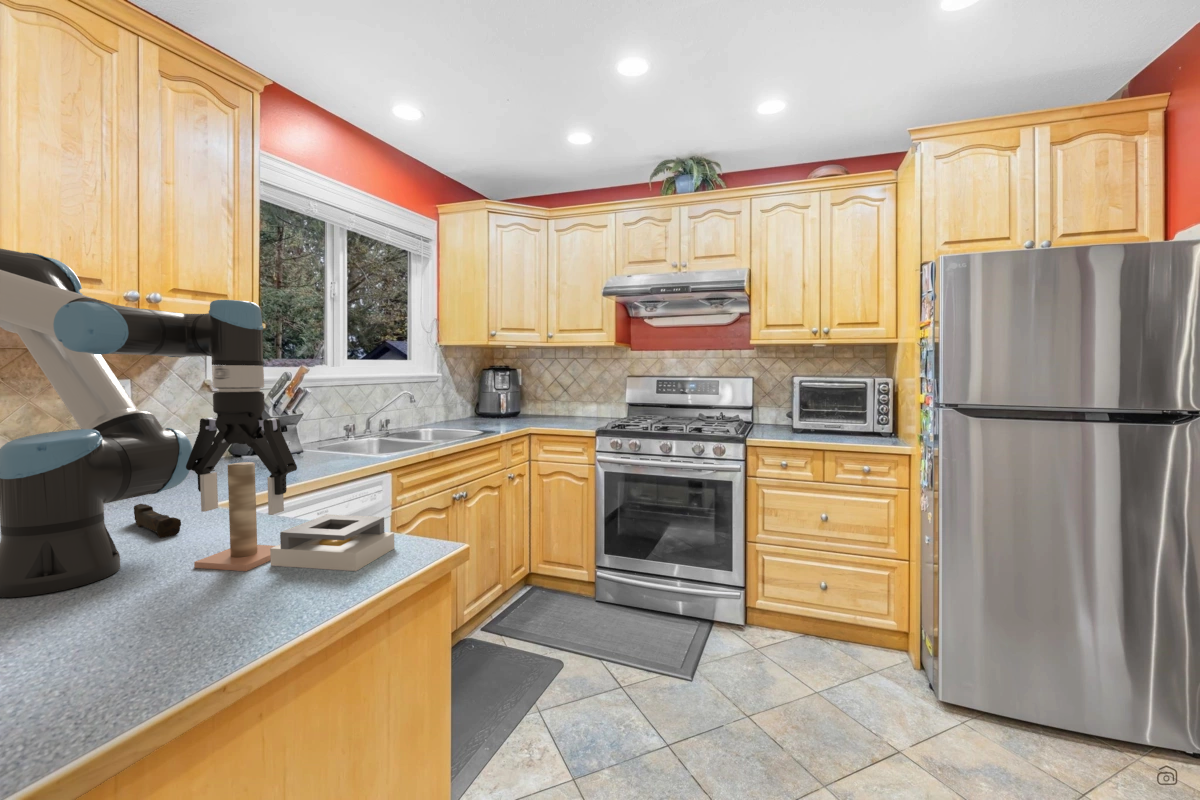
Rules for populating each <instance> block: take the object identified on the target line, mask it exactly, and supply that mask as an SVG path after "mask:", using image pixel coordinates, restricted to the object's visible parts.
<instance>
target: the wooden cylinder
mask: <svg viewBox="0 0 1200 800" xmlns="http://www.w3.org/2000/svg"><path fill="white" fill-rule="evenodd" d="M227 486H228V487H227V490H228V519H229V520H228V521H229V524H228V525H229V545H230V546H229V549H230V556H231V557H234V558H240V557H247V556H251V555H254V554H256V553H257V545H258V529H257V528H258V526H257V524H258V523H257V494H256V493H257V491H256V488H257V487H256V463H255V462H252V461H248V462H246V461H245V462H244V461H243V462H235V463H230V464H227Z"/></svg>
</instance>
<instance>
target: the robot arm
mask: <svg viewBox="0 0 1200 800" xmlns="http://www.w3.org/2000/svg"><path fill="white" fill-rule="evenodd" d="M78 277H79V276H77V274H76V273H75V272H74V270H73V269H72V268H71V267H70V266H68V265H67V264H66V263H64V262H62V261H61V260H58V259H56V258H51V257H47V256H44V255H41V254H38V253H33V252H21V251H15V250H10V249H5V248H0V328H1V329H2V330H4V331H6V332H10V333H14V334H17V335H18V336H19V339H20V341H22V343H23V344H24V345H25V347H26V348H27V351H29V353H30V355H31V356H32V358H33V359H34V361H35V363H37V365H38V367H39V368H40V369H41V372H42V373H43V375H44V376H45V377H46V379H47V381H49V383H50V385H51V386H52V387H53V389H54V390H55V393H56V394H57V395H58V396H59V398H60V399H61V401H62V403H63V404H64V406H65V407H66V409H67V410H68V412H69V413H70V414H71V416H72V417H73V419H74V421H75V422H76V424H77V425H78V426H79V429H67V430H66V429H65V430H60V431H50V432H49V431H48V432H43V433H38V434H31V435H28V436H27V435H26V436H24V437H19V438H15V439H12V440H10V441H7V442H6V443H4V445H2V446H1V447H0V598H20V597H29V596H30V597H31V596H38V595H44V594H50V593H51V594H52V593H56V592H60V591H66V590H70V589H74V588H77V587H81V586H85V585H88V584H89V585H90V584H91V583H95V582H98V581H100V580H103V579H106V578H108V577H110V576H112V575H114V574H115V573H117V572H119V570H120V569H121V556H120V552H119V550H118V549H117V547H116V545H115V542H114V540H113V538H112V537H111V534H110V532H109V531H108V529H107V527H106V524H105V512H104V511H105V504H110V503H114V502H118V501H123V500H129V499H132V498H137V497H143V496H147V495H156V494H159V493H162V492H163V491H168V490H171V489H173V488H176V487H177V486H180V485H181V483H183V482H184V481H185V479H186V478H187V477H188V475H189V474H190V472H191V471H193V472H194V473H195V474H196V475H197V490H198V492H199V493H200V506H201V507H200V511H201V512H202V513H203V512H205V513H207V512H209V511H212V510H216V509H218V508H219V493H218V491H219V490H218V472H217V471H216V469H215V467H216V466H217V465H218V463H219V462H220V460H221V459H222V457H223V455H224V454H225V453H226V452H227V450H228V449H229V447H230V446H231V445H233V444H238V445H246V446H247V447H250V448H251V449H252V450H253V452H254V453H255V454H256V456H257V457H258V458H259V460H260V461H261V463H262V464H263V466H265V467H266V469H267V470H268V472H269V473H270V475H269V476H268V477H267V481H266V482H267V509H268V511H267V512H268V516H271V515H272V516H274V515H276V514H279V513H282V512H285V505H284V494H286V493H287V475H288V474H289V473H293V472H295V471H297V469H298V465H297V463H296V461H295V458H294V457H293V455H292V454H293V453H291V450H290V448H289V445H288V444H287V441H286V439H285V437H284V435H283V432H282V429H281V421H280V419H279V418H278V417H276V418H266V419H264V418H263V412H264V411H265V408H266V406H265V405H266V404H265V393H264V391H261V389H263V388H264V387H265V373H264V360H263V359H264V358H263V357H264V355H263V354H264V349H263V348H264V347H263V341H264V339H263V336H264V335H263V333H264V332H263V331H264V324H263V320H262V319H263V316H262V309H261V307H260V305H258V304H257V303H255V302H253V301H247V300H237V299H215V300H211V302H210V304H209V310H208V313H185V312H184V313H183V312H182V313H181V312H175V311H168V310H167V311H165V310H158V309H148V308H138V307H130V306H124V305H118V304H114V303H111V302H107V301H105V300H102V299H96V298H95V297H91V296H87V295H84V294H83V293H81V292H80V290H81V289H83V287H82V284H81V282H80V279H79V278H78ZM103 355H135V356H136V355H141V356H161V357H168V358H186V357H187V358H188V357H190V358H191V357H211V371H212V372H211V375H212V378H211V379H212V388H214V389H216V391H215V392H213V394H212V411H213V412H214V413H215V414H216V415H217V416H216V417H215V416H213V417H202V418H200V421H199V431H198V434H197V436H196V438H195V441H194V444H193V446H192V444H191V441H190V439H189V438H188V436H187V434H185V432H183V431H181V430H180V429H175V428H171V427H166V428H164V427H163V426H162V425H161V423H160V422H159V421H158V419H157V418H156V416H155V414H153V413H152V412H149V411H144V410H140V409H138V407H137V406H136V404H135V402H134V401H133V400H132V398H131V397H130V395H129V394H128V393H127V391H126V390H125V388H124V386H123V385H122V383H121V382H120V381H119V379H118V377H116V374H115V373H114V371H112V368H111V367H110V366H109V364H108V362H107V361H106V360H105V358H104V356H103ZM217 431H218V433H217ZM215 471H216V472H215Z"/></svg>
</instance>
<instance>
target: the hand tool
mask: <svg viewBox="0 0 1200 800" xmlns="http://www.w3.org/2000/svg"><path fill="white" fill-rule="evenodd" d="M133 515H134V520H135V524H136V526H137V527H138V528H146V529H148V530H150V531H153V532H155V533H156V535H157V537H158V538H159V539H163V538H168V537H172V536H173V537H174V536H176V535H178V534H179V533H180V531H181V526H182V521H181V519H180V518H177V517H173V516H172V517H170V516H169V515H168V514H162V513H159V512H157V511H154V508H153V506H151V505H149V504H146V503H144V504H143V503H138V504H135V505H134V506H133Z"/></svg>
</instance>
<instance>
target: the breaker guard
mask: <svg viewBox="0 0 1200 800" xmlns="http://www.w3.org/2000/svg"><path fill="white" fill-rule="evenodd" d="M279 535H280V544H278V545H274V546H275V547H272V548H270V557H271V561H270V566H272V567H285V568H286V567H287V568H301V569H302V568H303V569H317V570H334V571H348V572H357V571H358V570H360V569H362V568H364V567H365V566H367V565H368V564H370V563H372V562H374V561H375V560H378V559H379V558H381V557H382V556H384V555H386V554H387V553H389V552H390V551H393V550H394V549H395V532H390V531H389V532H387V531H385V517H384V516H369V515H368V516H367V515H351V514H350V515H348V514H347V515H346V514H329V513H328V514H327V513H326V514H324V515H321V516H319V517H316V518H313V519H311V520H308V521H306V522H303V523H301V524H298V525H296V526H293V527H291V528H287V529H285V530H283V531H280V532H279ZM348 538H350V541H349V542H347V543H345V544H343V545H341V546H327V545H320V540H322V539H329V540H346V539H348Z"/></svg>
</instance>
